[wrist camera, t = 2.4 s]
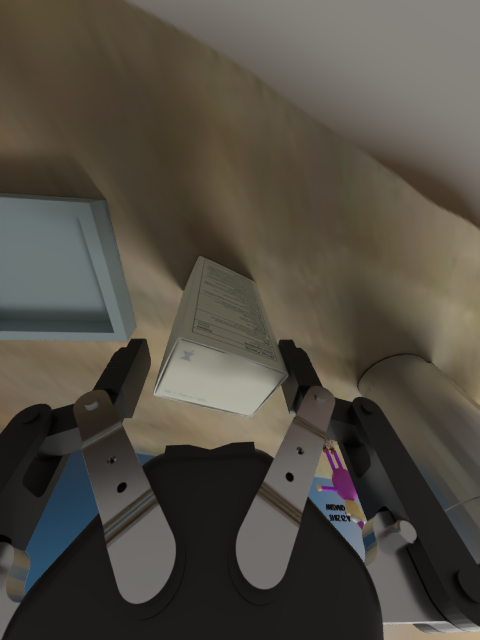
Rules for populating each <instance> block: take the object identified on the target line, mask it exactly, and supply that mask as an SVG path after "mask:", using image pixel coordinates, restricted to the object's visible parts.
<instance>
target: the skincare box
mask: <svg viewBox="0 0 480 640" xmlns="http://www.w3.org/2000/svg"><path fill="white" fill-rule="evenodd" d="M287 377H288V372H287V369H286V367H285V364H284V361H283V358H282V355H281V353H280V350H279V347H278V344H277V341H276V339H275V336H274V333H273V330H272V327H271V325H270V322H269V319H268V316H267V313H266V311H265V308H264V305H263V302H262V299H261V296H260V294H259V291H258V288H257V285H256V283H255V282H254V281H252V280H250V279H248V278H246V277H244V276H242V275H240V274H238V273H236V272H234V271H232V270H230V269H228V268H226V267H224V266H222V265H220V264H217V263H215V262H213V261H211V260H209V259H206V258H204V257H202V256H199V257H198V259H197V261H196V263H195V265H194V268H193V270H192V272H191V275H190V277H189V279H188V282H187V284H186V287H185V289H184V292H183V295H182V298H181V302H180V305H179V308H178V311H177V315H176V318H175V321H174V324H173V327H172V331H171V334H170V337H169V340H168V344H167V347H166V350H165V354H164V357H163V360H162V364H161V367H160V370H159V374H158V377H157V381H156V384H155V387H154V392H153V394H154V395H156V396H159V397H163V398H167V399H171V400H175V401H179V402H183V403H188V404H192V405H196V406H200V407H205V408H209V409H212V410H217V411H221V412H225V413H231V414H235V415H239V416H243V417H248V418H250V417H252V416H253V415H254V414H255V413H256V412H257V410H258V409H259V408H260V407H261V406H262V405H263V404H264V403H265V402H266V401H267V400H268V399H269V397H270V396H271V395H272V394H273V393H274V392H275V391H276V390H277V389H278V388H279V386H280V385H281V384H282V383H283V382H284V381H285V380H286V379H287Z"/></svg>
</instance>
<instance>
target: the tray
mask: <svg viewBox="0 0 480 640" xmlns="http://www.w3.org/2000/svg"><path fill="white" fill-rule="evenodd" d="M135 328H136V323H135V319H134V315H133V311H132V306H131V302H130V298H129V294H128V290H127V285H126V281H125V277H124V273H123V269H122V264H121V260H120V256H119V252H118V248H117V243H116V239H115V235H114V231H113V227H112V222H111V218H110V214H109V210H108V206H107V201H106V200H103V199H88V198H73V197H58V196H43V195H28V194H14V193H0V340H57V341H128V340H129V338H130V337H131V335H132V333H133V332H134V330H135Z"/></svg>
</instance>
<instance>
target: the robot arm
mask: <svg viewBox="0 0 480 640" xmlns="http://www.w3.org/2000/svg"><path fill="white" fill-rule="evenodd" d="M278 347H279V350H280V353H281V355H282V358H283V361H284V364H285V367H286V369H287V372H288V377H287V379H286V380H285V381H284V382H283V383H282V384H281V386H282V390H283V393H284V397H285V400H286V404H287V407H288V411H289V414H296V416H295V417H294V419H293V420H292V423H291V425H290V427H289V429H288V431H287V433H286V435H285V437H284V439H283V441H282V443H281V446H280V448H279V450H278V452H277V454H276V456H275V458H273V457H272V456H270V455H269V454H267V453H265V452H263V451H261V450H258V449H255V447H254V442H238V443H230V444H227V445H224V446H221V447H218V448H215V449H211V450H209V449H205V448H201V447H196V446H192V445H169V446H166V449H165V453H163V454H160V455H158V456H156V457H154V458H152V459H151V460H149V461H148V462H146V463H145V464H144V465H143V466H141V464H140V462H139V460H138V458H137V455H136V453H135V451H134V449H133V447H132V445H131V442H130V440H129V438H128V436H127V434H126V431H125V429H124V427H123V425H122V422H123V420H124V418H132V416H133V413H134V411H135V408H136V405H137V402H138V400H139V397H140V394H141V391H142V388H143V386H144V383H145V380H146V377H147V375H148V372H149V369H150V365H151V358H150V353H149V348H148V344H147V340H146V339H131V340H130V342H129V344H128V345H127V347H121V348H120V349H119V350H118V351H117V352H115V353H114V355H113V356H112V358H111V360H110V362H109V363H108V365H107V366H106V368H105V370H104V372H103V373H102V375H101V377H100V378H99V380H98V382H97V383H96V385H95V387H94V389H93V390H92V391H90V392H87V393H85V394H84V395H82V396H81V397H80V398H79V399H78V400H77V401H76V402H75V403H74V404H71V405H68V406H64V407H61V408H57V409H53V410H52V409H51V407H50V406H49V405H47V404H37V405H33V406H30V407H28V408H26V409H24V410H22V411H21V412H19V413H18V414H17V415H16V416H15V417H14V418H13V419H12V420H11V421H10V422H9V424H8V425H7V426H6V428H5V429H4V430H3V432H2V433H1V434H0V640H384V638H383V624H413V625H414V626H416V627H417V628H418V629H419V630H421V631H423V632H425V633H430V634H432V633H450V632H471V631H480V405H479V404H478V403H477V402H476V401H475V400H473V399H472V398H471V397H470V396H469V395H468V394H467V393H466V392H465V391H463V390H462V389H461V388H460V387H459V386H458V385H457V384H456V383H455V382H453V381H452V380H451V379H450V378H449V377H448V376H447V375H446V374H444V373H443V372H442V371H441V370H440V369H439V368H438V367H437V366H436V365H434V364H433V363H427V362H426V361H425V360H423V359H422V358H421V357H419V356H415V355H398V356H394V357H390V358H388V359H385V360H383V361H381V362H379V363H377V364H375V365H374V366H373V367H371V368H370V369H369V370H368V371H367V372H366V373H365V374H364V375H363V376H362V378H361V379H360V382H359V387H358V389H359V392H360V394H361V395H362V397H357V398H355V399H354V400H353V402H349V401H346V400H342V399H338V398H335V397H334V395H333V394H332V393H331V392H330V391H329V390H328V389H326V388H324V387H323V386H322V384H321V382H320V380H319V378H318V376H317V374H316V372H315V370H314V368H313V367H312V363H311V361H310V359H309V357H308V355H307V353H306V352H305V351H304V350H302V349H301V348H296V346H295V344H294V342H293V340H280V341H279V345H278ZM326 438H328V439H332V440H335V441H337V443H338V445H339V448H340V450H341V453H342V456H343V458H344V461H345V464H346V466H347V469H348V472H349V474H350V477H351V480H352V482H353V485H354V487H355V490H356V493H357V495H358V498H359V501H360V503H361V506H362V509H363V511H364V514H365V516H366V519H367V522H366V523H365V524H364V526H363V529H362V539H363V544H364V548H365V561H364V562H363V561H362V559H361V558H360V556H359V555H358V553H357V552H356V551H355V550H354V549H353V547H352V546H351V545H350V544H349V543H348V542H347V541H346V539H345V538H344V537H343V536H342V535H341V534H340V533H339V531H338V530H337V529H336V528H335V527H334V526H333V524H332V523H331V522H330V521H329V520H328V519H327V518H326V517H325V515H324V514H323V513H322V512H321V511H320V510H319V508H318V507H317V506H316V505H315V504H314V503H313V502H312V500H311V499H310V498H309V497H308V494H309V490H310V487H311V484H312V481H313V477H314V474H315V471H316V468H317V465H318V462H319V458H320V455H321V452H322V449H323V446H324V442H325V439H326ZM80 449H82V453H83V456H84V460H85V464H86V467H87V470H88V474H89V478H90V481H91V484H92V488H93V492H94V495H95V499H96V503H97V506H98V509H99V513H98V514H97V516H96V517H95V518H94V519H93V520H92V521H91V522H90V523H89V524H88V525H87V526H86V528H85V529H84V530H83V531H82V532H81V533H80V534H79V535H78V536H77V538H75V540H74V541H73V542H72V543H71V544H70V545H69V546H68V547H67V548H66V549H65V551H64V552H63V553H62V554H61V555H60V556H59V557H58V558H57V559H56V561H55V562H54V563H53V564H52V565H51V566H50V567H49V568H48V569H47V570H46V571H45V572H44V574H43V575H42V576H41V577H40V578H39V579H38V580H37V581H36V582H35V584H34V585H33V586H32V587H31V588H30V590H29V591H28V593H27V594H26V595H24V586H25V581H26V579H27V575H28V572H29V568H30V558H29V555H28V554H27V553H26V552H25V549H26V547H27V545H28V543H29V541H30V539H31V537H32V535H33V532H34V530H35V528H36V526H37V524H38V522H39V520H40V517H41V516H42V513H43V511H44V509H45V507H46V505H47V503H48V501H49V498H50V496H51V494H52V492H53V490H54V488H55V486H56V484H57V482H58V480H59V477H60V475H61V473H62V471H63V469H64V467H65V465H66V463H67V460H68V458H69V456H70V454H71V452H74V451H76V450H80Z"/></svg>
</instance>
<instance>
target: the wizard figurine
mask: <svg viewBox="0 0 480 640" xmlns="http://www.w3.org/2000/svg"><path fill="white" fill-rule="evenodd" d="M323 452H324V453H326V455H327V457H328V460H329V462H330V465H331V467H332V470H333V474H332V482H333V486H334V487H326V486H321V485H317V489H318V490H319V491H321V490H324V491H336V492H337V494H338V495H339V496H340V497H341V498H342V499H344V500H345V506H346V509H347V510H346V512H345V513H346V514H348V515H350V516H347V515H346V517H347V519H348V520H349V522H350V518H351V519H352V520H353V521H354V522H356V523H357V524H358V525H359V527H360V528H361V529H363V526H364V524H365V523H366V522H367V521H366V519H365V516H364V514H363V513H362V511H361V509H360V507H359V505H358V504H357V503H356V502H355V501H354V500H355V499H356V498H357V493H356V490H355V487H354V485H353V482H352V480H351V477H350V474H349V472H348V471H347V470H345V469H343V467H342V464H341V462H340V460H339V458H338V455H337V453H336V451H335V450H331V454H333V455H334V456H335V459H336V461H337V463H338V466H339V468H337V469H336V468H335V466H334V463H333V461H332V458H331V456H330V454H329V451H328V449H327V448H324V449H323ZM334 506H335V508H336V509H335V508H334ZM332 507H333V508H334V509H333V508H332ZM342 507H343V508H344V510H343V508H342ZM338 508H339V510H340V509H341V510H342V511H345V507H344V506H343V505H340V506H339V505H337V506H336V505H333V504H330V505H329V504H328V505H327V504H326V509H328V510H338ZM341 510H340V511H341ZM329 516H330V519H331V520H330V521H334V518H335V520H336V521H341V520H339V518H340V516H339V515H334V517H333V515H332V517H331V515H329ZM337 516H338V517H339V518H337ZM343 517H344V519H343ZM341 518H342V521H347V520H345V516H344V515H343V516H342V515H341ZM332 519H333V520H332Z"/></svg>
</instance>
